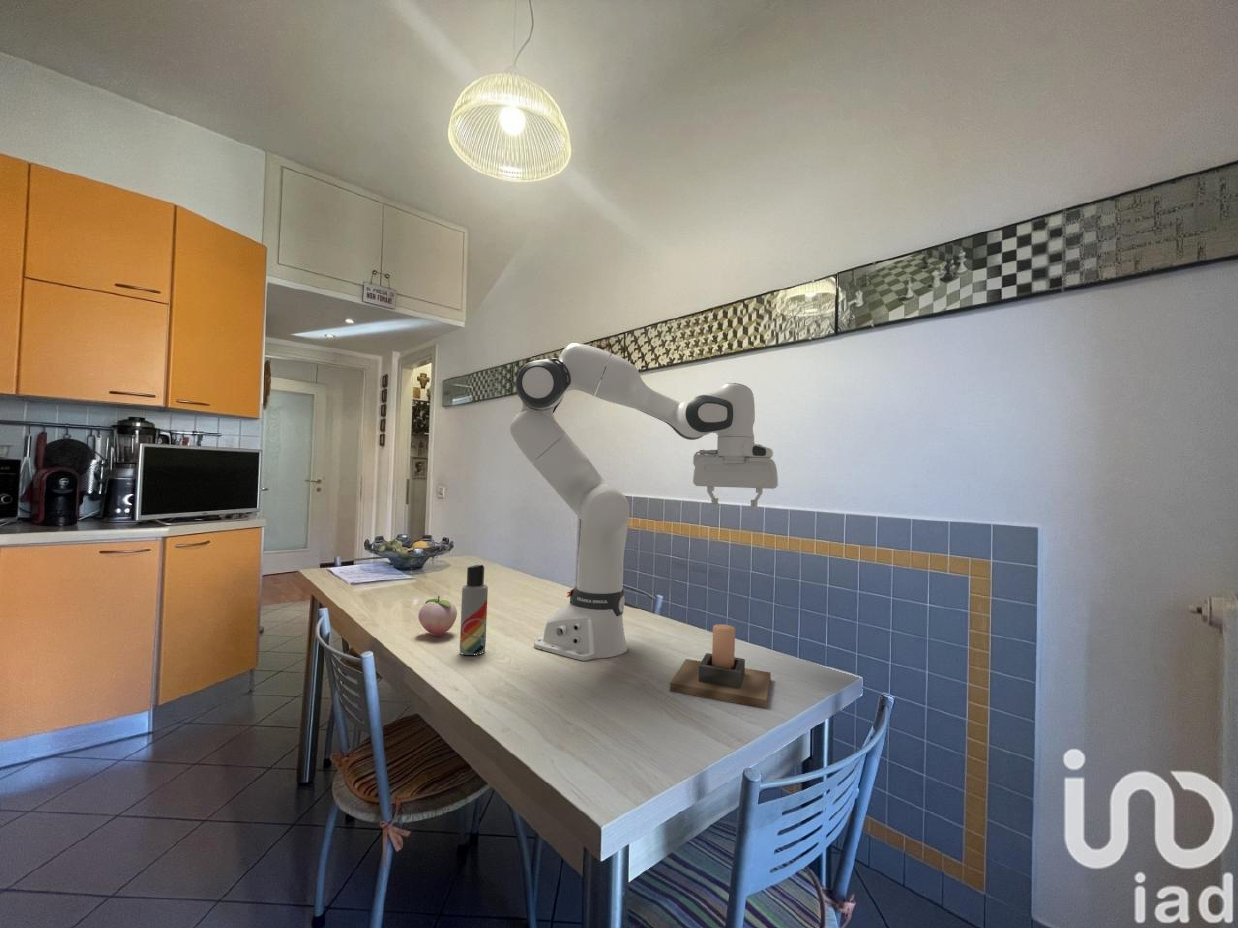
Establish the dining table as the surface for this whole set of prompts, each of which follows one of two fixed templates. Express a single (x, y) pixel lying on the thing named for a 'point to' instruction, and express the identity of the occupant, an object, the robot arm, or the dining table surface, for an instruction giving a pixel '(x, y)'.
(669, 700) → the dining table surface
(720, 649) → the peg
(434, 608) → the decorative fruit
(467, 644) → the lotion bottle
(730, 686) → the collar stand
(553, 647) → the robot arm
